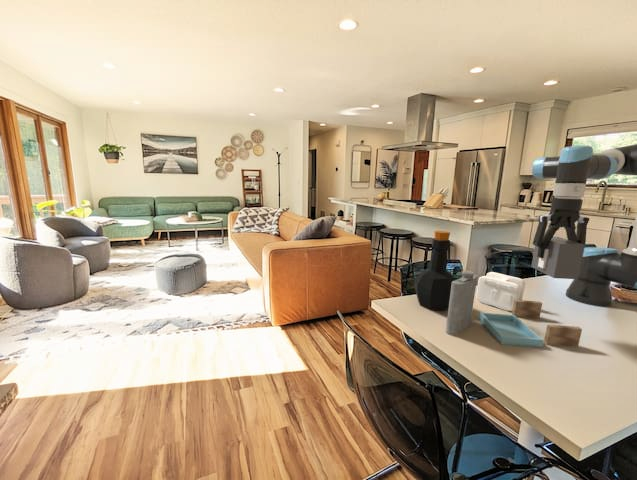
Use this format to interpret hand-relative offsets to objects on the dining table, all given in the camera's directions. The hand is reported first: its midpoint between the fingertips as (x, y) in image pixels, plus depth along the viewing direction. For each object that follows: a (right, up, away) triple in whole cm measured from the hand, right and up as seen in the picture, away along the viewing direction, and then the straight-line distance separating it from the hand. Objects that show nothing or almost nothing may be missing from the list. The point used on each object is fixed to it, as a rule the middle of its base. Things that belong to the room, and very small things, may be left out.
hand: (554, 267), depth 99 cm
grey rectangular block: (0, -2, 0) cm, 2 cm away
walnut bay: (-1, -22, +4) cm, 22 cm away
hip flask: (-29, -21, +4) cm, 36 cm away
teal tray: (-14, -22, +2) cm, 26 cm away
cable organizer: (-4, -18, +24) cm, 30 cm away
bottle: (-31, -17, +22) cm, 42 cm away
